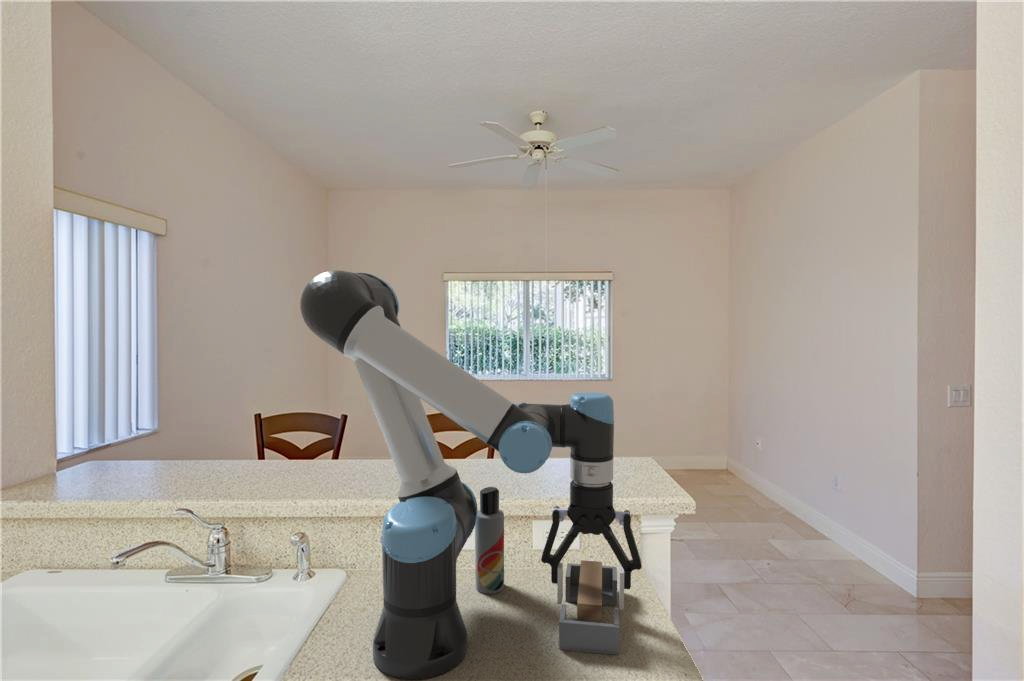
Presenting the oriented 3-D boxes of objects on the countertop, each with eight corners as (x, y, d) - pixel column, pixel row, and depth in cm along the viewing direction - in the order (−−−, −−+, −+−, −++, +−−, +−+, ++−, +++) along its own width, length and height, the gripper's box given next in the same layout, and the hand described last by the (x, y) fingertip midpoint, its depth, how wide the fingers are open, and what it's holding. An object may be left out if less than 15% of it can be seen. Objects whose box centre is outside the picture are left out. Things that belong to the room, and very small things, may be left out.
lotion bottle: (500, 595, 109) (500, 494, 108) (472, 592, 111) (471, 492, 109) (506, 581, 115) (506, 484, 114) (479, 579, 116) (479, 483, 115)
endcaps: (559, 650, 92) (559, 622, 92) (567, 586, 113) (567, 563, 113) (619, 656, 91) (619, 627, 90) (616, 590, 111) (616, 566, 111)
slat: (576, 638, 94) (577, 603, 94) (580, 590, 110) (581, 560, 109) (601, 640, 93) (601, 605, 93) (601, 592, 109) (602, 561, 109)
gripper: (524, 484, 98) (524, 608, 100) (659, 491, 95) (657, 619, 96) (530, 471, 106) (530, 587, 107) (655, 477, 102) (654, 597, 103)
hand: (590, 602), depth 102 cm, fingers open, 10 cm apart
